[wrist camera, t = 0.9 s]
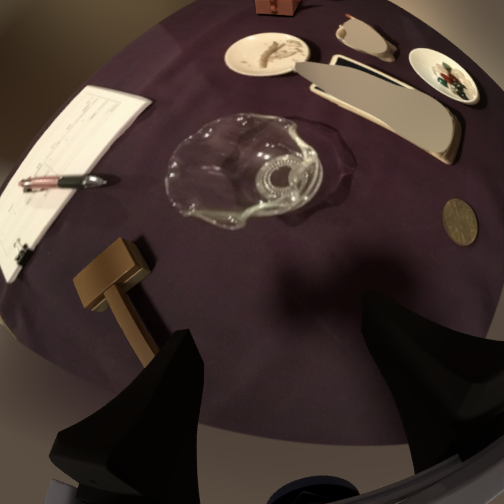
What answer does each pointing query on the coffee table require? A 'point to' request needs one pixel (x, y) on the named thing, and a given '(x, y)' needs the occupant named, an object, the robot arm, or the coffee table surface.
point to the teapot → (276, 7)
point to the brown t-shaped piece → (118, 291)
